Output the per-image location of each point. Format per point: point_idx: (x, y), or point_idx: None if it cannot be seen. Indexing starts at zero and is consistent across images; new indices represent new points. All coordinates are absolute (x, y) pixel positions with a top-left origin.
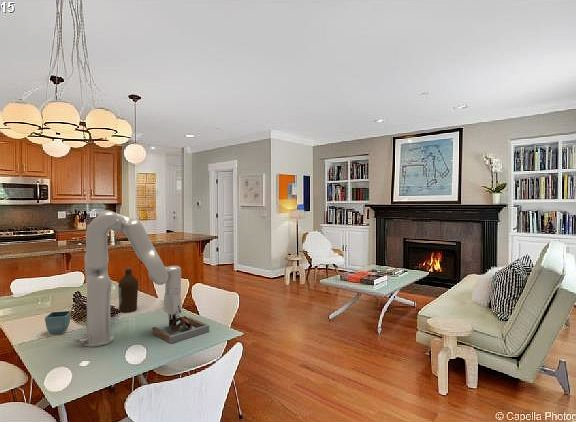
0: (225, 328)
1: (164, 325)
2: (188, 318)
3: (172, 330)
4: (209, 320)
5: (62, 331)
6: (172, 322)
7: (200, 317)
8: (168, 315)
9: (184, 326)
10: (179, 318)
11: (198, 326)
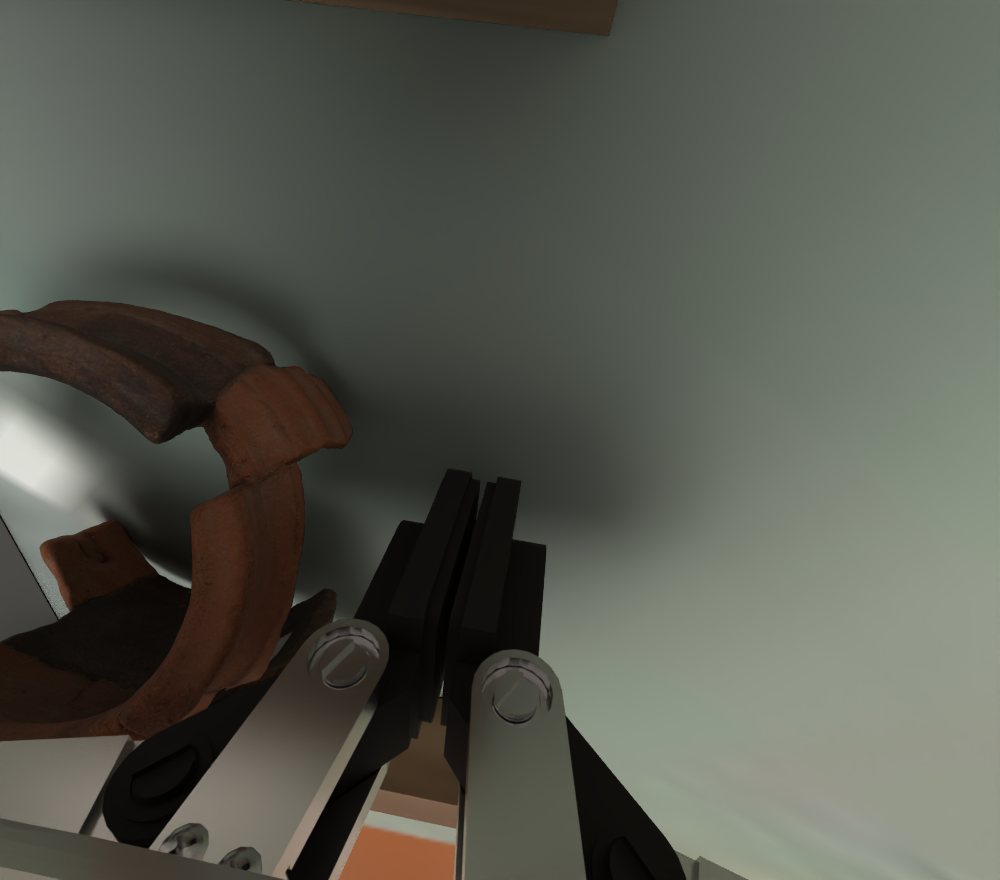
0: None
1: (771, 519)
2: (430, 799)
3: (98, 305)
4: (372, 821)
5: None
6: (195, 513)
7: None
8: (561, 770)
9: (301, 605)
10: (96, 720)
11: None
